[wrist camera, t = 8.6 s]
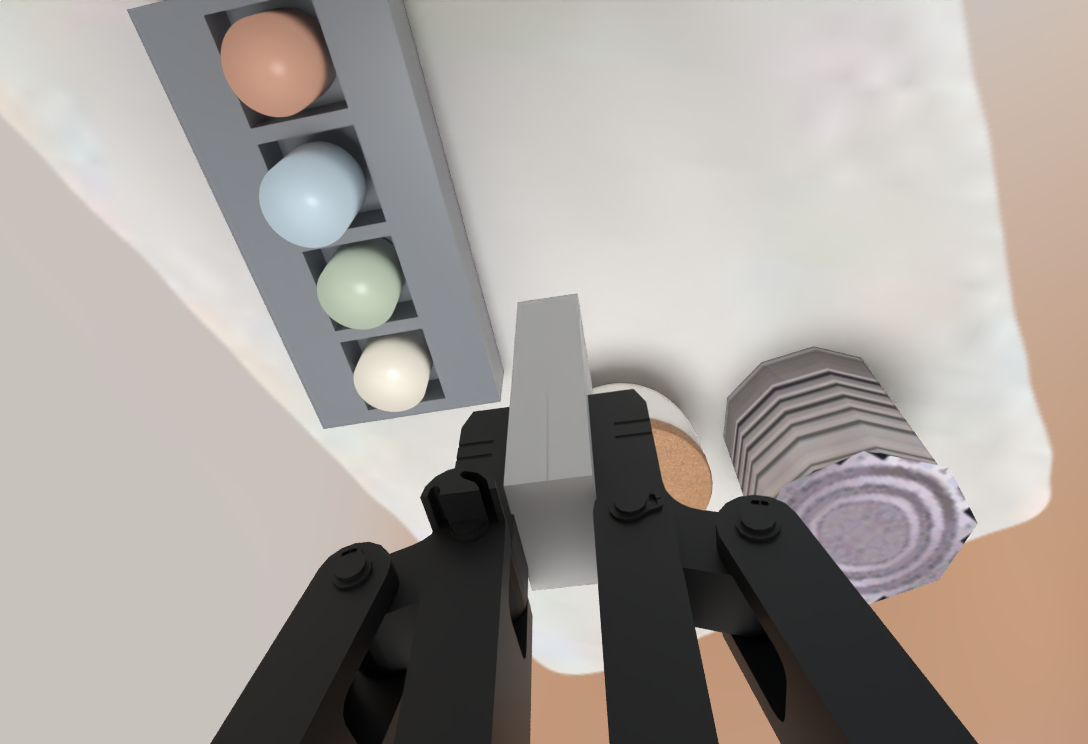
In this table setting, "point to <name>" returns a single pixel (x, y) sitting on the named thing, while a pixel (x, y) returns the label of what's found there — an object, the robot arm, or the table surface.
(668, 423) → the lidded jar
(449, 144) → the table surface
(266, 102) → the terracotta button
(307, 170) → the pale blue button
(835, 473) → the can
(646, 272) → the table surface
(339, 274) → the sage button
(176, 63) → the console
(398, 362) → the cream button
